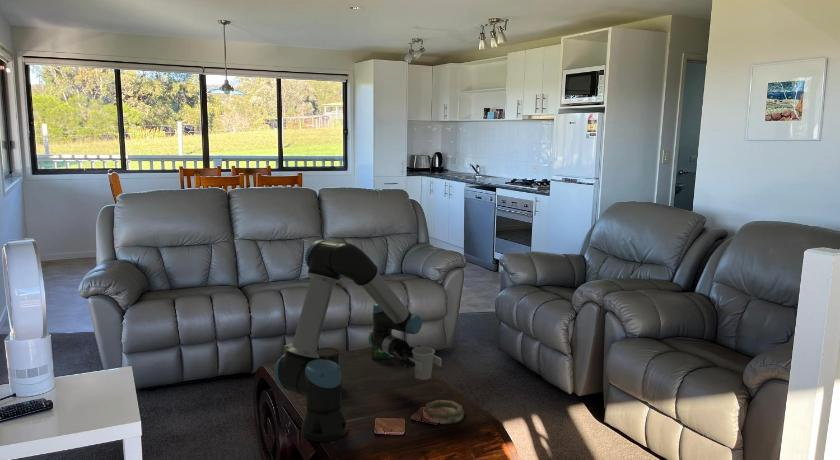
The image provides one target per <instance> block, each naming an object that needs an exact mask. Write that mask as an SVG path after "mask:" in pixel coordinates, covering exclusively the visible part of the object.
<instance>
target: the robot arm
mask: <svg viewBox="0 0 840 460" xmlns="http://www.w3.org/2000/svg"><path fill="white" fill-rule="evenodd" d="M304 256H305V257H304V260H305V262H306V263H305V265H306V266H307V267H308V270H307V273H306V274H307V275H308V277H309V283H308V286H307V289H306V290H307V291H306V293H305V297H304V301H303V305H302V309H301V312H300V314H299V315H300V316H299V319H298V324H297V326H296V330H295V335H294V338H293V341H292V343H293V345H292V346H291V347H289V348H288V349H287V350H286V354H285V355H284V354H283V355H281V356H280V358H278V359H277V361H276V363H275V365H274V369H273V374H274V375H273V376H274V379H275V381H276V383H277V385H279V386H280V387H281V388H283V389H284V390H286V391H288V392H292V393H294V394H297V395H298V396H302V397H304V398H306V401H305V402H306V412H305V415H304V417H303V420H302V424H301V436H302V438H305V439H306V440H309V441H311V442H318V443H319V442H320V443H321V442H322V443H323V442H331V441H335V440H338V439H340V438H342V437H343V436H345V435H346V434H347V432H348V422H347V419H346V417H345V414H344V412H343V411H344V410H343V409H342V395H343V394H342V388H343V387H342V385H343V384H342V380H343V378H342V372H341V371H342V370H341V366H340V367H339V366H338V364H336V363H335V362H333V361H330V360H323V359H319V355H318V354H317V351H316V350H317V349H318V346H319V342H320V339H321V334H322V331H323V327H324V323H325V320H326V315H327V312H328V307H329V304H330V301H331V298H332V293H333V289H334V286H335V284H337V283H339V282H340V279H341V277H345V278H346V279H347V278H348V279H349V280H351V281H353V282H354V284H355V285H357V286H359V287H362V289H364V290H365V292H366V293H367V294H368V295H369V296H370V297H371V299H372V300H373V301H374V303H373V305H372V330H370V332H369V335H368V343H369V344H370V345H371V347H372V346H374V347H375V348H376V349H379V350H381V351H383V352H385V353H387V354H389V359H391V360H393V361H395V363H397V364H398V365H399V366H401V367H405V368H406V369H409V368H410V367H411V368H413V369H414V368H415V369H417V370H419V371H422V363H420V362H418V361H416V360H414V359H413V353H412V350H413V349H414V348H415V347H413V346H410V345H409V343H408V342H407V341H406V340H404V339H402V338H400V337H398V336H395V335H393V332H392V331H393V330H394V331H398V332H401V333H405V334H409V335H417V334H419V332H420V331H421V329H422V327H423V321H422V318H421V317H420V316H419V315H418V314H415V313H412V312H411V311H410V310H409V309H408V308H407V306H406V305H405V303H403V302H402V300H401V299H400V297H399V296H398V295H397V294H396V293H395V291H393V289H392V288H391V287H390V285H389V284H388V283H387V282H386V281H385V279H384V278H383V277H382V275H380V273H379V272H378V271H379V269H378V266H377V265H376V264H375V262H374V261H373V260H372V259H371V258H370V257H369V256H368V255H367V254H366V252H365V251H363V250H362V249H361V248H359V247H358V246H356V245H355V244H352V243H349V242H343V241H338V240H337V241H336V240H332V239H318V240H316V241H313V242H312V243H311V244H310V245H309V246H308V247H307V249H306V252H305V254H304ZM417 347H422V346H421V345H416V348H417ZM442 360H443V359H442V357H439V356H437V355H436V352H435V353H434V358H433V364H434V365H436V366H439V367H442V366H443V365H442V364H443V363H442ZM415 369H414V370H415Z"/></svg>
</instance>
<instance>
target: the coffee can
mask: <svg viewBox="0 0 840 460" xmlns="http://www.w3.org/2000/svg"><path fill="white" fill-rule="evenodd" d="M316 351H317V354H318V355H319V359H323V360H330V361H333V362H335V363H336V364H338V366H339V367H340V368H341V366H340V362H341V361H340V354H341V353H340V350H339V348H335V347H321V348H317V350H316Z"/></svg>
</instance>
